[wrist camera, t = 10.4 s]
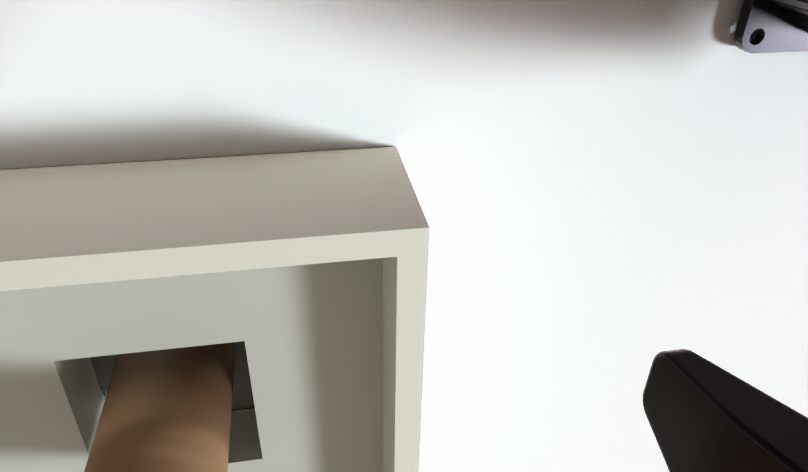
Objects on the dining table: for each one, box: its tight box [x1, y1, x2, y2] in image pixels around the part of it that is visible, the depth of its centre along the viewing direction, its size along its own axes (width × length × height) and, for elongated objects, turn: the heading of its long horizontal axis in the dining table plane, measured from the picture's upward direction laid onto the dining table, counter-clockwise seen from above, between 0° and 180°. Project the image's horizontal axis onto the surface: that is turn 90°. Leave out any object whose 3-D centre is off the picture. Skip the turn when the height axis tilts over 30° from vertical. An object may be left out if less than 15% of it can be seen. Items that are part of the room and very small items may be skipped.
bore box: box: [0, 147, 429, 472], centre depth 21 cm, size 16×16×5 cm
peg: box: [84, 343, 235, 472], centre depth 19 cm, size 4×4×9 cm
